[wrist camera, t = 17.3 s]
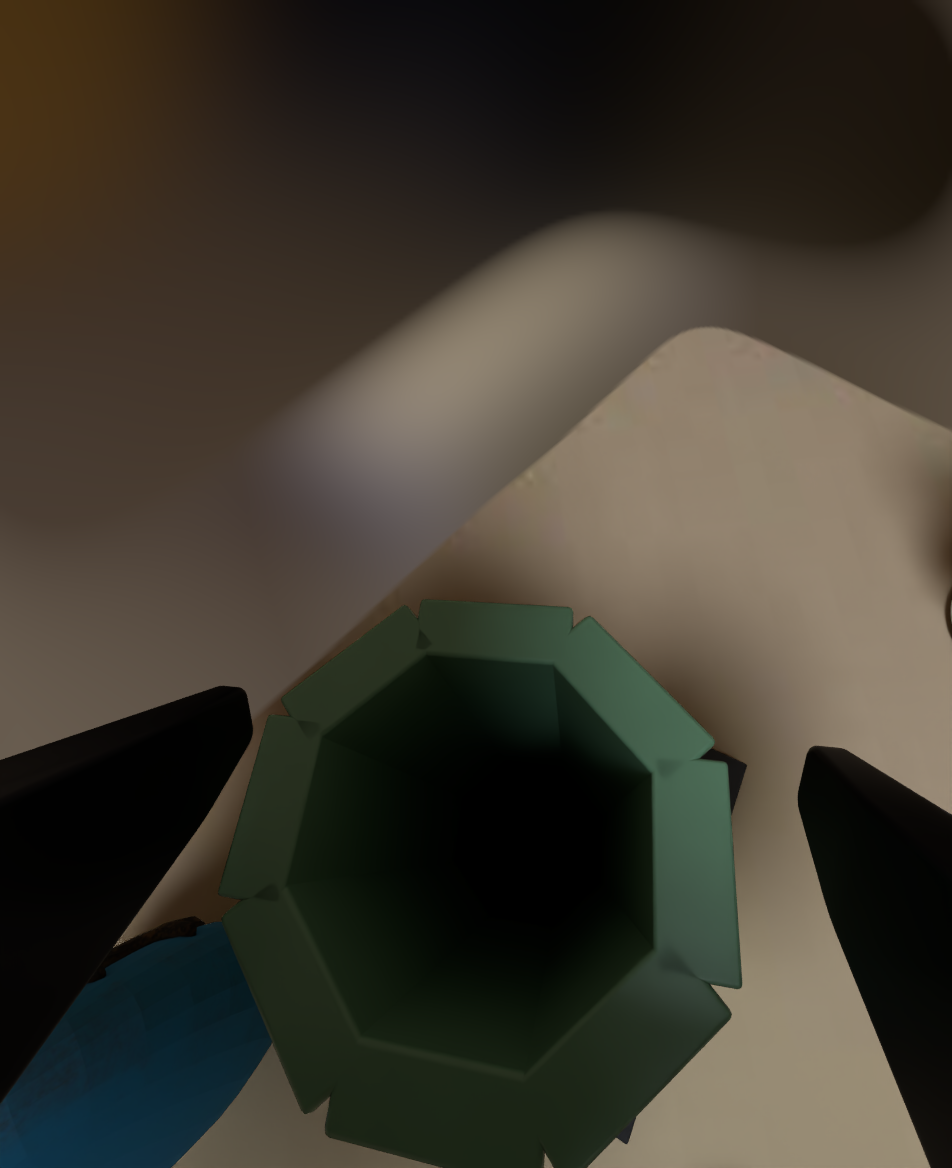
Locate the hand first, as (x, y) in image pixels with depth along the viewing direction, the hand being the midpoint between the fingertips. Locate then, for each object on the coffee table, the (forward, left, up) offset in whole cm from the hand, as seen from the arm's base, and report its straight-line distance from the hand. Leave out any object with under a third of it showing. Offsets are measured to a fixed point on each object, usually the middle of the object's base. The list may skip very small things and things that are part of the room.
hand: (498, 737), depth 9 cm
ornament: (-10, +6, -10) cm, 16 cm away
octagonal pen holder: (-1, 0, -9) cm, 10 cm away
